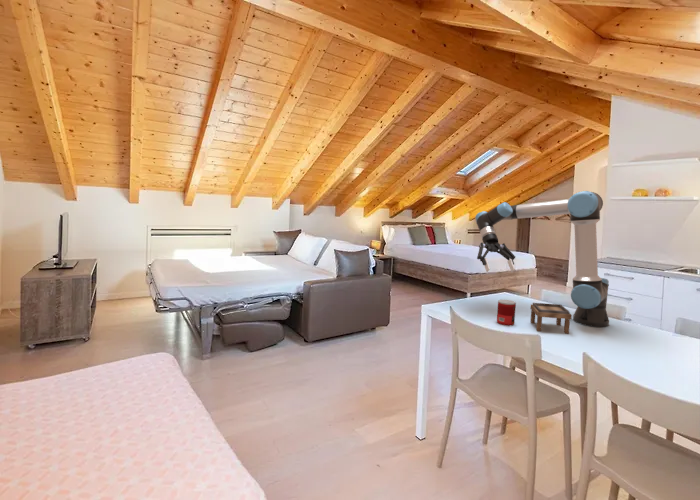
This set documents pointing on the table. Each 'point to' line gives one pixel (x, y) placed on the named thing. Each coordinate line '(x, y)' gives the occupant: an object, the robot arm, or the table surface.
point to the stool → (550, 314)
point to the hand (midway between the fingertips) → (500, 270)
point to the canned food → (506, 312)
